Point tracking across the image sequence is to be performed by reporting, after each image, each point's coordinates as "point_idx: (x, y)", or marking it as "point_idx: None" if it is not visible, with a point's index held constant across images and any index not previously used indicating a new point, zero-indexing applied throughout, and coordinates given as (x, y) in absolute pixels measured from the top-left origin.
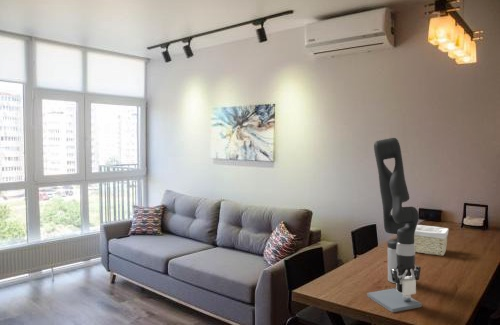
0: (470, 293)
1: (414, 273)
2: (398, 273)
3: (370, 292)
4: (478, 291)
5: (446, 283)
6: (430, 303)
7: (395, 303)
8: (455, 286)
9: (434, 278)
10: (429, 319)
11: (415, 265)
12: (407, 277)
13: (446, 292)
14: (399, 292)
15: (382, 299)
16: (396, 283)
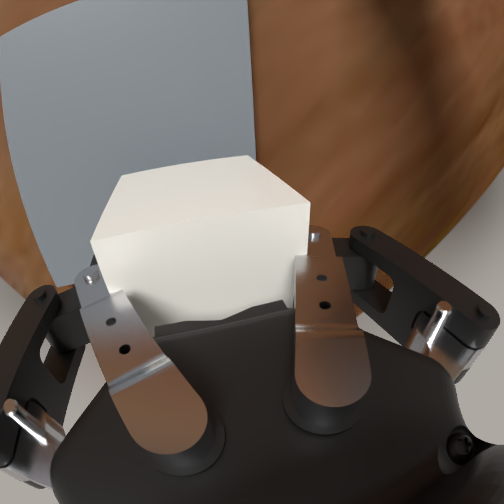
0: (481, 174)
1: (391, 277)
2: (98, 357)
3: (23, 25)
4: (496, 172)
5: (488, 73)
6: (324, 207)
7: (95, 223)
8: (490, 108)
9: (482, 19)
10: None
11: (486, 335)
12: (264, 273)
13: (451, 131)
14: (230, 48)
15: (38, 149)
16: (109, 204)
